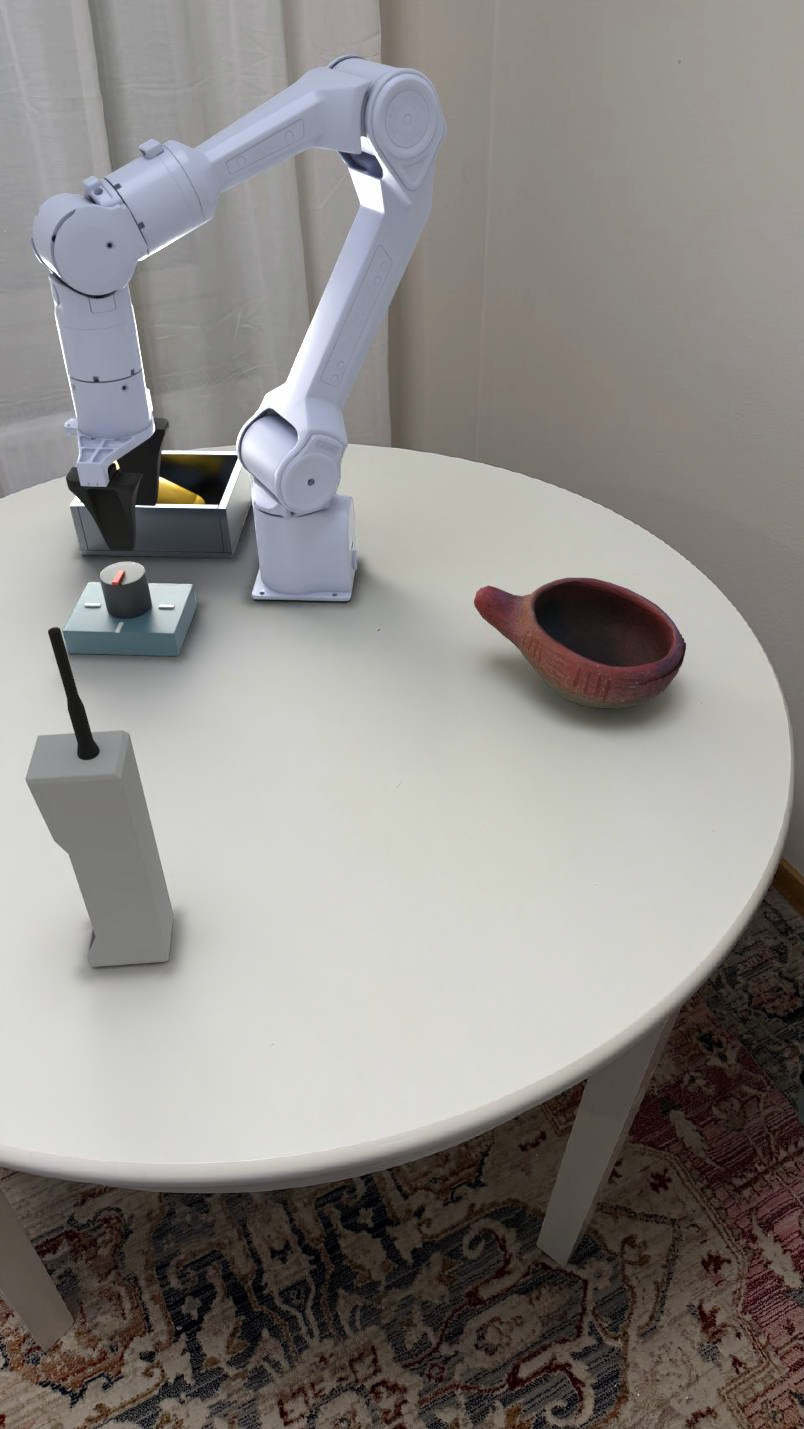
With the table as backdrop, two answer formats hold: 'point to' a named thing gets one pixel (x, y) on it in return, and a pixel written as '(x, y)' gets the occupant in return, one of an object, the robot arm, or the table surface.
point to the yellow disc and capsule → (175, 494)
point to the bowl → (589, 639)
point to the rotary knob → (125, 589)
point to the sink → (183, 511)
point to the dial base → (131, 623)
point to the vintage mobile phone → (103, 831)
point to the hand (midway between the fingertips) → (133, 525)
